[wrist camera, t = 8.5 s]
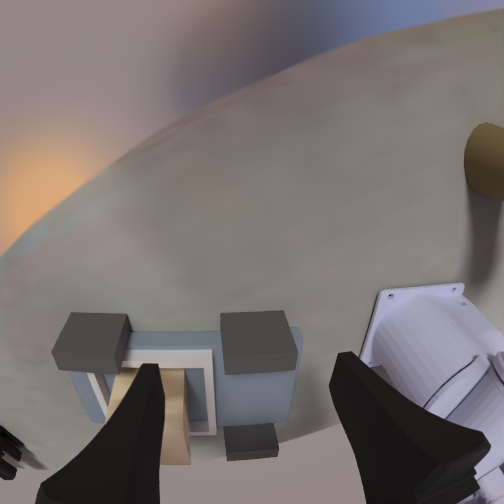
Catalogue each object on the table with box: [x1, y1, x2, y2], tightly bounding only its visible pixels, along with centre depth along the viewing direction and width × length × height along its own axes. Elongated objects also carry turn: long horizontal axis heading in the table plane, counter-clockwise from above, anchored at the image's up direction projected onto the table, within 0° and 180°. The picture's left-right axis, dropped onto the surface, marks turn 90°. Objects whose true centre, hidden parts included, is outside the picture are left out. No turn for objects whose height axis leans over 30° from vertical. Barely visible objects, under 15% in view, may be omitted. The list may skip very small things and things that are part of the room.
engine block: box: [105, 367, 190, 465], centre depth 20 cm, size 5×5×6 cm
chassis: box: [51, 311, 303, 461], centre depth 22 cm, size 18×13×4 cm
